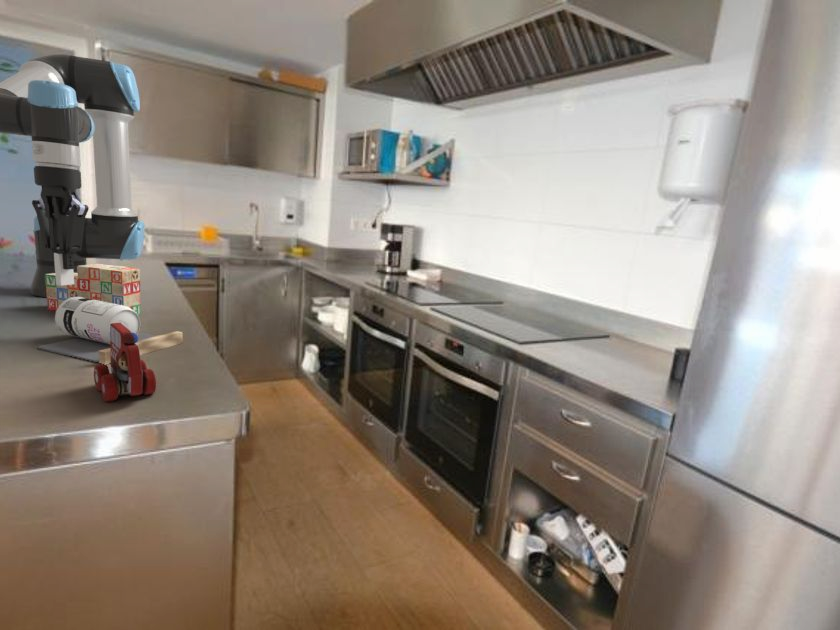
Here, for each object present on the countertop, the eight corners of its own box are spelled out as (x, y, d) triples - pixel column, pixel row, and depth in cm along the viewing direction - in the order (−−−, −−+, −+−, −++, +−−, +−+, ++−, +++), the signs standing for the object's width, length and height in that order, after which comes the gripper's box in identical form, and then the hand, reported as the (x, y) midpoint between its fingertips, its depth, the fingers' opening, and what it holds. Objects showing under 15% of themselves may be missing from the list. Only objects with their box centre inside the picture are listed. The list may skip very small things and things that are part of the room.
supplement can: (98, 305, 107) (149, 315, 102) (80, 340, 105) (131, 352, 100) (65, 289, 100) (118, 299, 95) (44, 326, 97) (98, 338, 93)
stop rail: (177, 341, 105) (176, 331, 105) (182, 343, 105) (182, 332, 104) (99, 363, 89) (98, 350, 88) (105, 364, 88) (104, 352, 88)
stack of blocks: (46, 310, 122) (42, 261, 119) (67, 306, 128) (64, 259, 126) (124, 320, 119) (122, 270, 117) (141, 315, 126) (140, 267, 123)
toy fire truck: (109, 410, 71) (106, 341, 69) (91, 383, 80) (88, 322, 77) (161, 400, 76) (159, 336, 74) (139, 376, 84) (137, 318, 82)
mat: (121, 330, 110) (121, 328, 110) (176, 341, 105) (176, 339, 105) (37, 348, 94) (37, 346, 94) (98, 363, 89) (98, 361, 89)
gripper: (14, 162, 95) (24, 282, 99) (61, 166, 90) (69, 290, 95) (54, 167, 101) (61, 278, 106) (99, 170, 97) (105, 286, 102)
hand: (65, 284), depth 101 cm, fingers closed
